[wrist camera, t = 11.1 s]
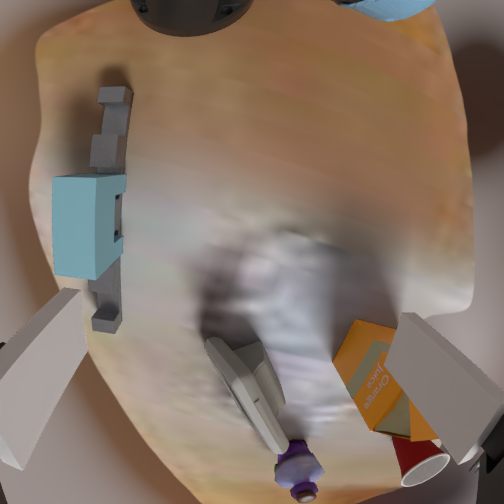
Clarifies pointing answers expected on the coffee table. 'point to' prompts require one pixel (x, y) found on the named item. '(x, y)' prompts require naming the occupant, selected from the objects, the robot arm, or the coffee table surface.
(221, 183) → the coffee table surface
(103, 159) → the rail
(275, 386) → the digital clock
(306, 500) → the potion bottle
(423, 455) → the plastic cup
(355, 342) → the orange juice
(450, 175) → the coffee table surface
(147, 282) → the coffee table surface
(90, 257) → the block
